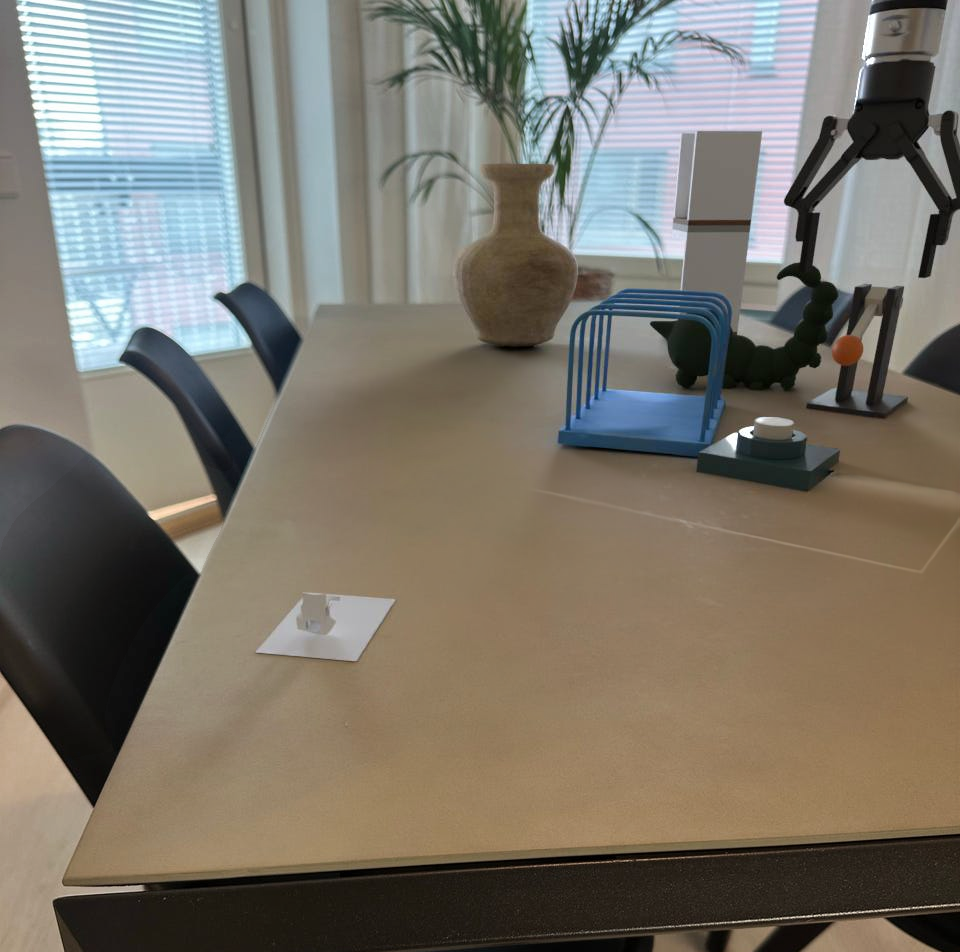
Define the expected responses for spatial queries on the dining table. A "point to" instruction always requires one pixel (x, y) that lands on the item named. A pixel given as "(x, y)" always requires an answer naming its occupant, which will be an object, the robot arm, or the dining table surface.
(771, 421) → the white button cap
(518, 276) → the vase
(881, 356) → the orange ball swing frame
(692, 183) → the display case
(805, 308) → the toy figurine
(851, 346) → the switch lever
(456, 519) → the dining table surface
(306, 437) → the dining table surface
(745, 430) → the button base
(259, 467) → the dining table surface
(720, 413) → the file sorter
